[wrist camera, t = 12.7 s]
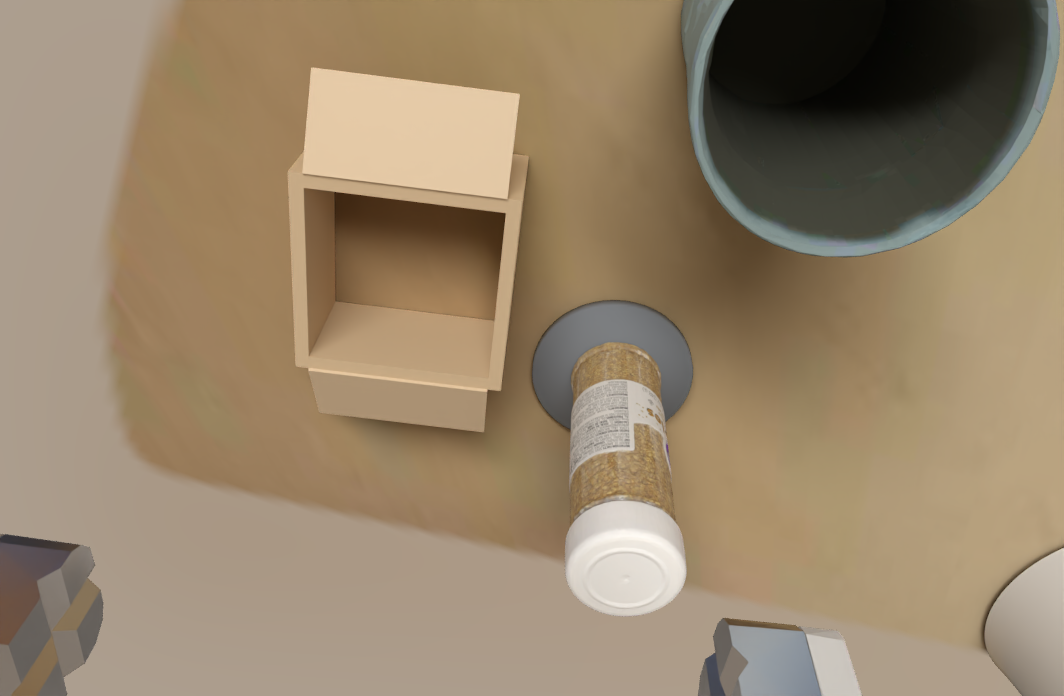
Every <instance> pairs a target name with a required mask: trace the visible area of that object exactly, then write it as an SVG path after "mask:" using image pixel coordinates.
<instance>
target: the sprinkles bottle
mask: <svg viewBox="0 0 1064 696" xmlns="http://www.w3.org/2000/svg"><path fill="white" fill-rule="evenodd" d="M571 387H572V391H573V408H572V413H571V438H570V474H569V490H570V528H569V530H568V533H567V536H566V541H565V576H566V580H567V583H568V586H569V588H570V590H571V591H572V593H573V594H574V595H575V596H576V598H578V600H580V601H581V602H582V603H584V604H585V605H586V606H588V607H589V608H591V609H593V610H596V611H598V612H601V613H604V614H608V615H613V616H638V615H644V614H648V613H651V612H653V611H656V610H658V609H660V608H662V607H664V606H666V605H667V604H669V603H670V602H671V601H672V600H673V599H674V598H675V597H676V596H677V595H678V594H679V592H680V591H681V589H682V587H683V585H684V582H685V579H686V572H687V571H686V558H685V549H684V543H683V537H682V534H681V531H680V529H679V527H678V525H677V522H676V519H675V512H674V503H673V493H672V487H671V481H672V478H671V468H670V459H669V451H668V442H667V433H666V425H665V415H664V410H663V406H662V399H661V393H660V390H661V373H660V370H659V367H658V365H657V363H656V362H655V360H654V359H653V358H652V357H651V356H650V355H649V354H648V353H647V352H646V351H645V350H643V349H640V348H639V347H637V346H635V345H632V344H628V343H620V342H608V343H604V344H602V345H599V346H596V347H593V348H591V349H590V350H588V351H587V352H585V353H584V354H583V355H582V356H581V357H579V358H578V360H577V362H576V364H575V365H574V368H573V371H572V374H571Z"/></svg>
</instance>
